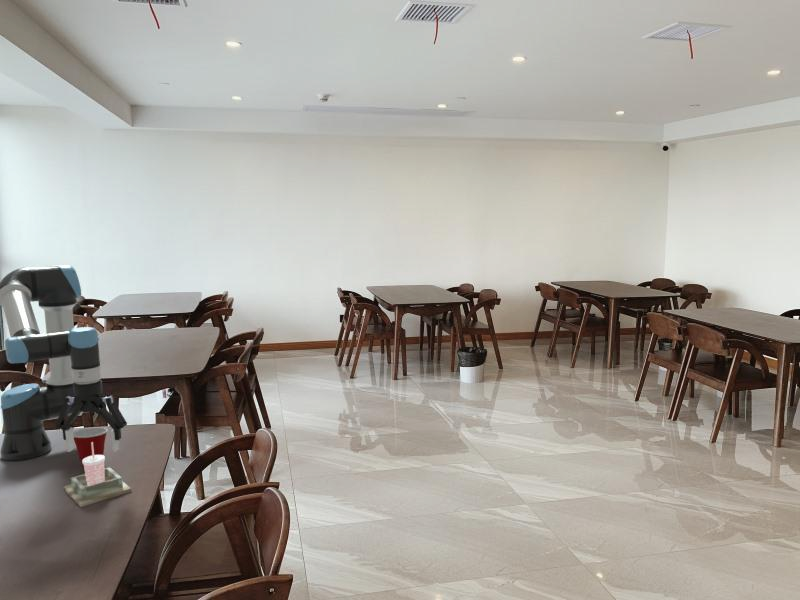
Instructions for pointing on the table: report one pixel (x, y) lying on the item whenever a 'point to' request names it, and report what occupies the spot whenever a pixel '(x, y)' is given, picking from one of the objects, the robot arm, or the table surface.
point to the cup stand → (96, 488)
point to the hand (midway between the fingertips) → (93, 450)
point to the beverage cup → (94, 468)
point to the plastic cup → (88, 436)
